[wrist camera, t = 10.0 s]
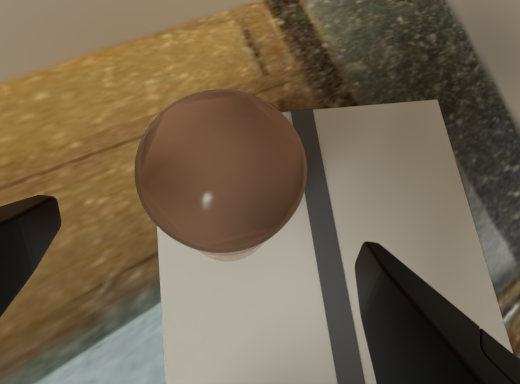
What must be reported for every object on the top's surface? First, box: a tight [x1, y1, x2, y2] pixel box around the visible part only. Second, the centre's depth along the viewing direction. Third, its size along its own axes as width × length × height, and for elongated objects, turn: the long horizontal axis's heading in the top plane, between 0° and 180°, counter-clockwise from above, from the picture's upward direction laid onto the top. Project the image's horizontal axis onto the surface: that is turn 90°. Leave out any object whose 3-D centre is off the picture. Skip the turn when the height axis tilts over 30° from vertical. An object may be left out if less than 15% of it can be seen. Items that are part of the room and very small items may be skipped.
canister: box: [135, 90, 307, 261], centre depth 16 cm, size 6×6×10 cm
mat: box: [157, 100, 513, 384], centre depth 21 cm, size 19×21×1 cm
